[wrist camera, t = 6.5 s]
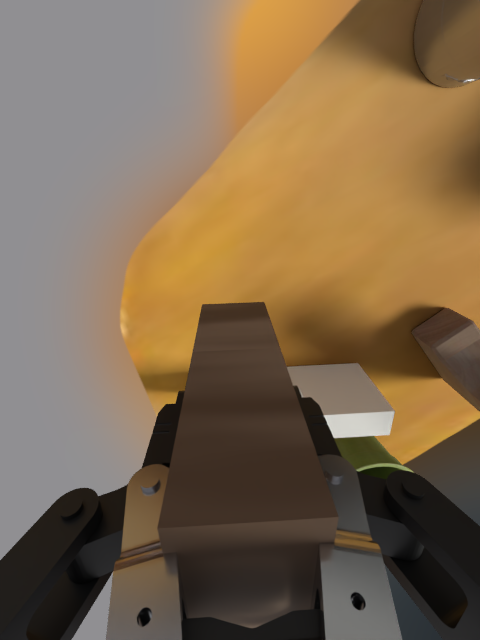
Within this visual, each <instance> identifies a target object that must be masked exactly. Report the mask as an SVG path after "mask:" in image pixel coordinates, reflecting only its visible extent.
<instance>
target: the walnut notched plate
mask: <svg viewBox="0 0 480 640" xmlns="http://www.w3.org/2000/svg"><path fill="white" fill-rule="evenodd" d="M338 519H339V516H338V513H337V511H336V508H335V505H334V502H333V499H332V496H331V493H330V490H329V488H328V485H327V482H326V479H325V476H324V473H323V470H322V467H321V464H320V462H319V459H318V456H317V453H316V450H315V447H314V444H313V441H312V439H311V436H310V433H309V430H308V427H307V424H306V421H305V418H304V415H303V413H302V410H301V407H300V404H299V401H298V398H297V395H296V392H295V390H294V387H293V384H292V381H291V378H290V375H289V372H288V369H287V367H286V364H285V361H284V358H283V355H282V352H281V349H280V346H279V343H278V341H277V338H276V335H275V332H274V329H273V326H272V323H271V320H270V318H269V315H268V312H267V309H266V306H265V303H264V302H253V303H228V304H203V305H202V308H201V313H200V318H199V323H198V328H197V333H196V338H195V343H194V348H193V353H192V358H191V363H190V368H189V373H188V378H187V383H186V388H185V393H184V398H183V403H182V408H181V413H180V418H179V423H178V428H177V433H176V438H175V443H174V448H173V453H172V458H171V463H170V468H169V473H168V478H167V483H166V488H165V492H164V497H163V502H162V507H161V512H160V517H159V522H158V527H157V530H158V534H159V539H160V543H161V548H162V552H163V553H173V552H177V557H178V562H179V568H180V573H181V578H182V583H183V589H184V594H185V599H186V604H187V610H188V615H189V618H201V617H212V618H216V619H219V620H223V621H226V622H230V623H234V624H237V625H241V626H244V627H248V628H256V627H258V626H260V625H263V624H265V623H267V622H269V621H272V620H274V619H276V618H278V617H280V616H283V615H285V614H287V613H289V612H291V611H296V610H309V609H310V606H311V598H312V591H313V584H314V577H315V569H316V562H317V555H318V548H319V543H325V542H335V536H336V530H337V524H338Z"/></svg>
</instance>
